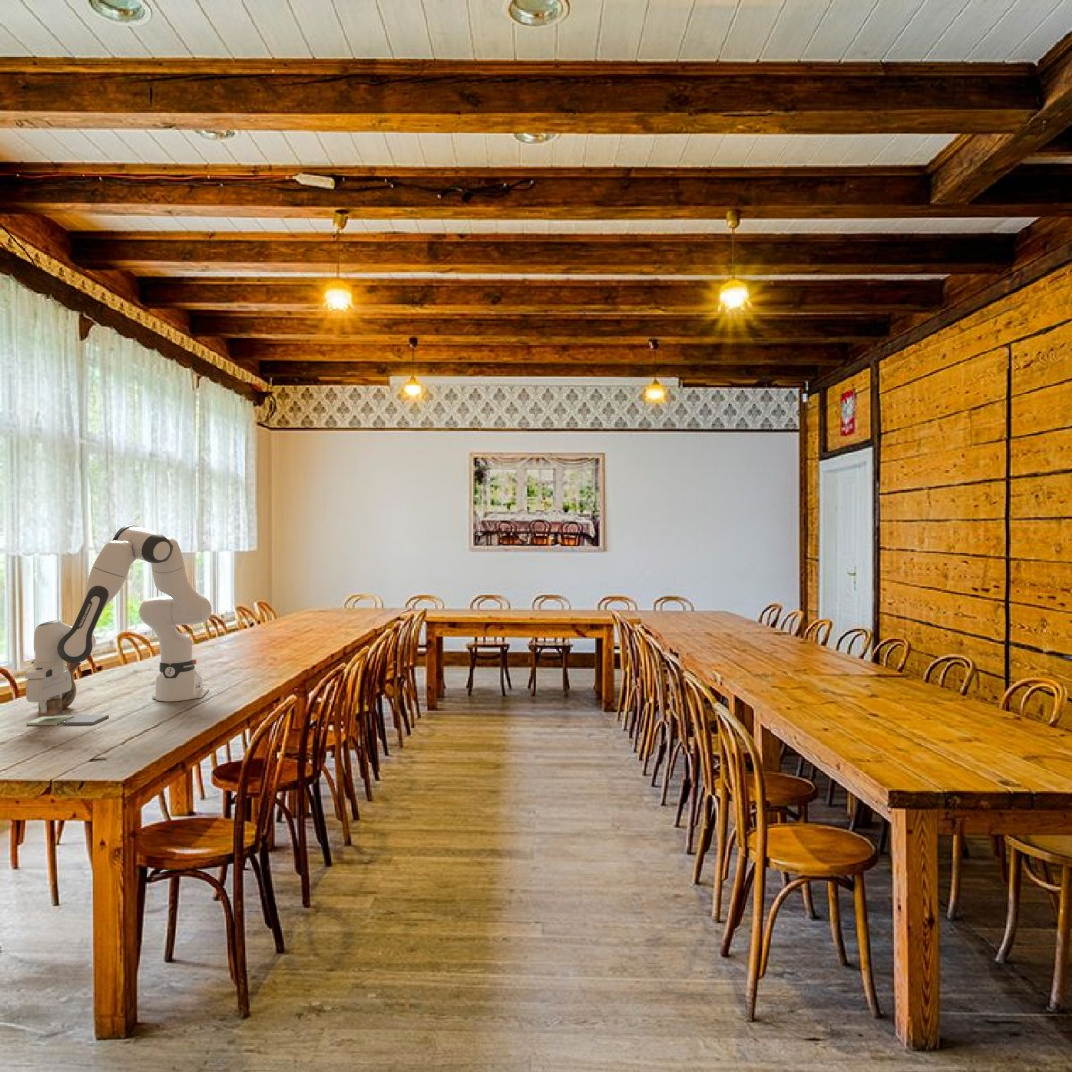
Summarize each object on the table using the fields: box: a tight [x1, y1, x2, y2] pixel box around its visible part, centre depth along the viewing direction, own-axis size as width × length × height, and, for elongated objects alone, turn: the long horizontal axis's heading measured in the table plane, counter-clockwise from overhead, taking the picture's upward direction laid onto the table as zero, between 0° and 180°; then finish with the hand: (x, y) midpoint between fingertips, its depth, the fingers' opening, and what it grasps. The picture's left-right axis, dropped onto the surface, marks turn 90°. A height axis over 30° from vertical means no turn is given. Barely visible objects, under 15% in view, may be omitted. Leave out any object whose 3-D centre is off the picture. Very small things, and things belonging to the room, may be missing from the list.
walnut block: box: [37, 698, 63, 718], centre depth 271 cm, size 5×5×5 cm
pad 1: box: [25, 714, 75, 726], centre depth 271 cm, size 10×10×1 cm
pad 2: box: [62, 714, 110, 726], centre depth 271 cm, size 10×10×1 cm
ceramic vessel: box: [48, 662, 82, 710], centre depth 291 cm, size 16×9×25 cm, turn 94°
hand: (50, 710), depth 271 cm, fingers closed on walnut block, 5 cm apart
